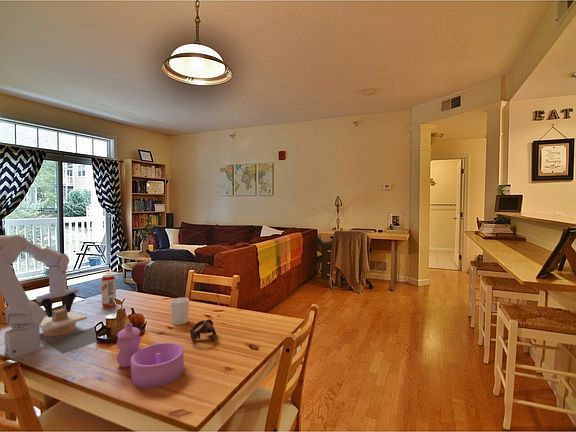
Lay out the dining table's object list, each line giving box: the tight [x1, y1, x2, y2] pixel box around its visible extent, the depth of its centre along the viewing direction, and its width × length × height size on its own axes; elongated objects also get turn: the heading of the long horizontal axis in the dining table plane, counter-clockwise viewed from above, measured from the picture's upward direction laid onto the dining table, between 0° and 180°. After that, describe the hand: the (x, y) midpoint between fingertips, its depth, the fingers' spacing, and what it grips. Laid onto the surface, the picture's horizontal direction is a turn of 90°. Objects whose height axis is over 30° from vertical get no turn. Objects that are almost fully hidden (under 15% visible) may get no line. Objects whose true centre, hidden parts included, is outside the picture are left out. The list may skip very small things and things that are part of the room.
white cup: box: [169, 297, 190, 326], centre depth 137 cm, size 8×8×10 cm
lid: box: [39, 307, 88, 331], centre depth 127 cm, size 14×14×4 cm
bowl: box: [41, 322, 77, 337], centre depth 127 cm, size 11×11×4 cm
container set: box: [116, 323, 185, 389], centre depth 98 cm, size 25×15×13 cm, turn 64°
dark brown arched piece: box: [188, 318, 218, 342], centre depth 121 cm, size 12×10×8 cm
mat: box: [46, 326, 99, 354], centre depth 120 cm, size 18×16×1 cm
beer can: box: [100, 274, 117, 309], centre depth 158 cm, size 6×6×16 cm
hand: (59, 314), depth 127 cm, fingers open, 6 cm apart
